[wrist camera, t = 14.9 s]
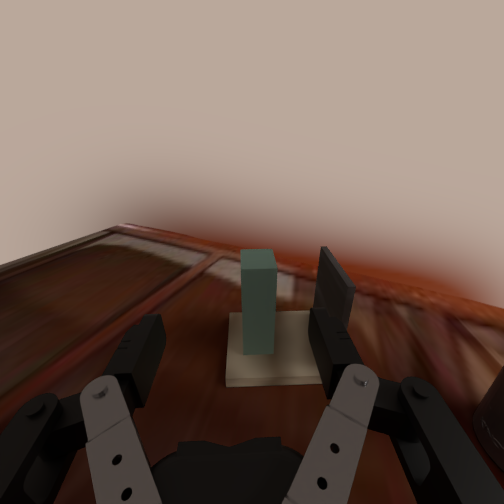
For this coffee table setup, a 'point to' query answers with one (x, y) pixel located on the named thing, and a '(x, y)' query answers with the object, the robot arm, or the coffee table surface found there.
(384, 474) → the coffee table surface
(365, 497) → the coffee table surface
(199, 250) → the coffee table surface
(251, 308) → the tall sage green prism
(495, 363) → the coffee table surface
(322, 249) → the desktop book rack
